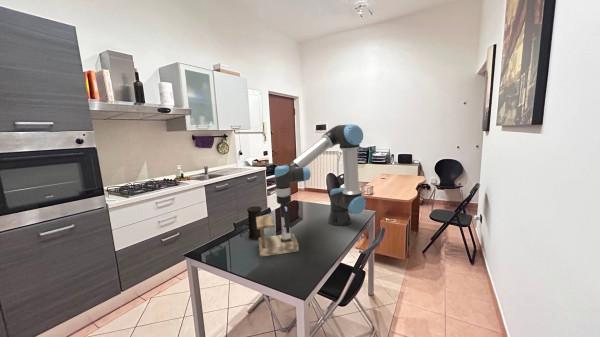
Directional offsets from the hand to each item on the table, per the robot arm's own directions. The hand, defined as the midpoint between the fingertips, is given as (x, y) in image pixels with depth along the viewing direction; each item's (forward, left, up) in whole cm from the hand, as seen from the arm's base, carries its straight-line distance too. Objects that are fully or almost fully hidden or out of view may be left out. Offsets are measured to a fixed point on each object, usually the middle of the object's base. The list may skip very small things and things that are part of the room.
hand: (286, 233), depth 133 cm
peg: (0, 0, -8) cm, 8 cm away
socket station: (+5, 0, -8) cm, 9 cm away
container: (+16, -18, -8) cm, 25 cm away
